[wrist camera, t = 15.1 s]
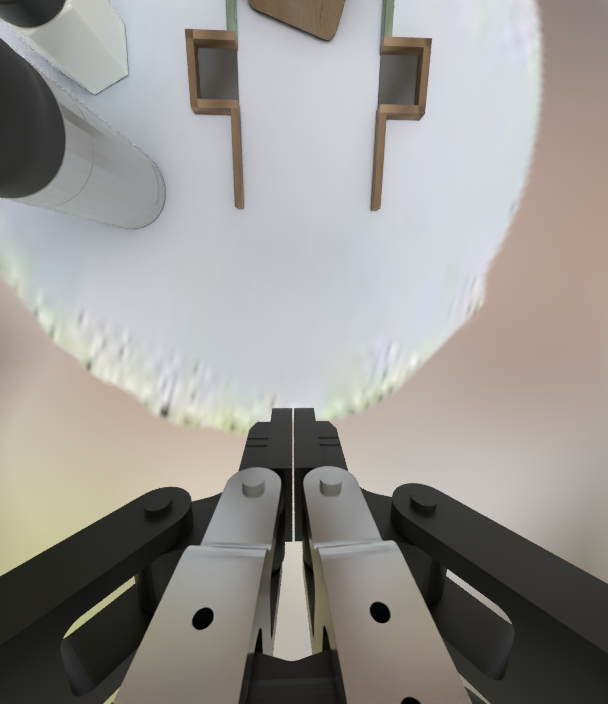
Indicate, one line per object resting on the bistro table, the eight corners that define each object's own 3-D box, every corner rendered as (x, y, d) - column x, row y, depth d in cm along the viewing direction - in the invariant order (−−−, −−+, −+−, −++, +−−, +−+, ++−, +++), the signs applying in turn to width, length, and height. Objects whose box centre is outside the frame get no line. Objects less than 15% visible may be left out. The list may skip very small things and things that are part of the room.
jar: (45, -9, 32) (-92, -163, 21) (125, 0, 33) (34, -146, 21) (57, 92, 35) (-60, 3, 23) (132, 98, 35) (53, 15, 24)
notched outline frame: (201, 207, 38) (198, 205, 37) (178, -119, 31) (172, -139, 29) (411, 211, 39) (415, 208, 38) (439, -104, 32) (447, -123, 30)
